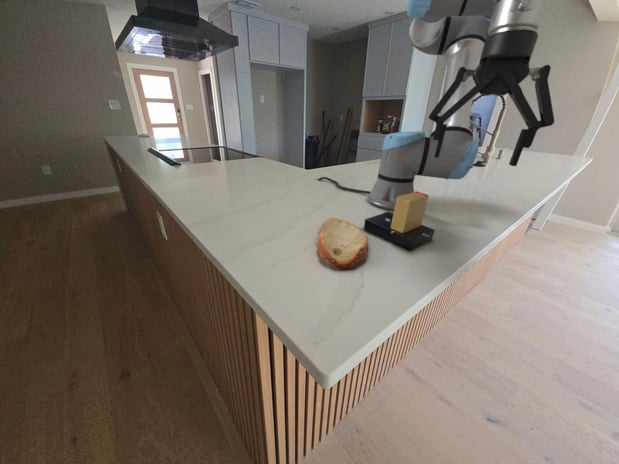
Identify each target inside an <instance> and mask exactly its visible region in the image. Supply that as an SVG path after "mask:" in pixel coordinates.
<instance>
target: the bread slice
mask: <svg viewBox="0 0 619 464" xmlns="http://www.w3.org/2000/svg"><path fill="white" fill-rule="evenodd" d="M368 244H369V239H368V237H367V235H366V233H365V232H362V230H360V228H359V227H358V226H357V225H355V224H353V223H351V222H349V221H346V220H345V219H341V218H336V217H327V218H326V220H324V222H323V224H322V227H321V230H320V232H319V235H318V238H317V243H316V247H317V251H318V254H319V256H320V257H321V259H322V260H323V261H324V262H326V263H327V264H328V265H330V266H332V267H334V269H336V270H350V269H353V268H355V267H356V266H357V265H358V264H359V263H360V262H362V261H364V260H365V259H366V258H367V257H368V256H367V255H368V254H369V245H368Z"/></svg>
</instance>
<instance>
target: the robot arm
mask: <svg viewBox="0 0 619 464" xmlns="http://www.w3.org/2000/svg"><path fill="white" fill-rule="evenodd" d="M550 2H551V0H408V2H407V9H406V10H407V11H406V14H407V17H408V18H411V19H412V21H411V23H410V26H409V30H408V31H409V32H408V35H409V41H410V44H411V45H412V47H414V48H415V49H416V50H417V51H419V52H421V53H423V54H426V55H431V56H443V62H444V64H445V65H446V66H447V67H446V73H445V78H444V84H443V88H442V89H443V90H442V94H441V95H442V96H441V98H440V100H439V101H438V102H437V104H436V106H435V107H434V108H433V110H432V111H431V112H430V114H429V115H428V119H429V120H430V121H433V122H434V123H435V129H434V130H433V131H432V132H431V133H430V136H426V132H424V131H422V130H421V131H418V130H417V131H416V130H415V131H414V130H413V131H399V132H392V133H388V134H386V136H385V137H384V140H383V143H382V147H381V157H380V162H379V167H378V174H377V179H376V181H375V183H374V185H373V187H372V189H371V191H369V190H362V189H356V188H350V187H345V186H343V185H340V184H339V182H338V181H336V180H334V179H332V178H330V177H327V176H321V177H318V179H317V181H322V180H327V181H329V182H331V183H333V184H335V185H336V187H337V188H339V189H342V190H345V191H348V192H355V193H360V194H368V202H369V203H370V204H371V205H373V206H376V207H378V208H381V209H385V210H389V211H394V209H395V204H396V199H397V197H400V196H403V195H407V194H410V193H414V192H415V189H414V181H415V178H416V176H420V177H429V178H437V179H445V180H462V179H463V178H465V177H466V176H467V175H468V173H469V172H470V170H471V168H472V166H473V165H474V163H475V160H476V158H477V155H478V153H479V148H480V143H479V141H478V140H476V139H473V136H474V133H473V131H472V130H471V129H470V128H469V124H470V118H471V112H472V106H473V98H475V96H476V95H478V94H480V95H482V96H483V97H488V96H496V97H503V96H506V95H509V98H510V99H511V100H512V102H513V104H514V106H515V107H516V109H517V111H518V113H519V114H520V116H521V118H522V119H523V122H524V123H525V125H526V126H527V129H526V128H522V129H521V130H520V133H519V135H518V139H517V141H516V144H515V147H514V149H513V152H512V155H511V157H510V160H509V163H508V165H509V166H511V167H517V165H518V162H519V160H520V158H521V154H522V151H523V149H524V148H525V149H530V147H531V146H532V145H533V142H534V139H535V137H536V135H537V132H538V131H539V130H540V129H542V128H546V127H551V126H553V125H554V124H555V116H554V110H553V105H552V98H551V91H550V87H549V77H550V76H549V75H550V72H551V68H552V67H551V65H550V64H545V65H543V66H540V67H532V68H530V62H531V59H532V56H533V53H534V50H535V47H536V44H537V42H538V38H539V34H538V31H539V30H541V29H542V27H543V23H544V20H545V17H546V14H547V11H548V8H549V5H550ZM527 77H529V78H530V81H531V82H532V83H534V89H535V95H536V101H537V106H538V113H539V117H540V120H538V117H537V116H536V114H535V112H534V111H533V109H532V107H531V105H530V103H529V101H528V100H527V98H526V96H525V94H524V93H523V89H522V88H521V86H520V84H521V83H522V82H523V81H524V80H525V79H526V78H527Z"/></svg>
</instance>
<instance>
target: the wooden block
mask: <svg viewBox="0 0 619 464" xmlns="http://www.w3.org/2000/svg"><path fill="white" fill-rule="evenodd" d="M429 197H430V196H429V194H428V193H427V194H426V193H423V192H420V191H417V190H416V191H415V190H414V193H410V194H407V195H403V196H400V197H397V199H396V204H395V209H394V210H393V218H392V223H391V229H394V230H396V231H398V232H401V233H405V232H407V231H410V230H412V229H414V228H417V227H419V226H421V225H422V222H423V219H424V215H425V212H426V208H427V204H428V201H429Z"/></svg>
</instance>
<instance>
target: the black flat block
mask: <svg viewBox="0 0 619 464" xmlns="http://www.w3.org/2000/svg"><path fill="white" fill-rule="evenodd" d="M393 214H394V212H390V211H386V212H383V213H379V214H377V215H374V216H370V217H368V218H364V225H363V230H364V231H367V232H368V233H370V234H372V235H375V236H377V237H379V238H380V239H383V240H385V241H387V242H389V243H391V244H393V245H395V246H397V247H399V248H402V249H403V250H406V251H408V252H412V251H414V250H416V249H418V248H419V247H421V246H424V245H426V244H427V243H429V242H431V241H432V240H433V237H434V234H435V232H436V229H434V228H432V227H429V226H426V225H424V224H421V226H419V227H417V228H414V229H412V230H410V231H407V232H405V233H401V232H398V231H396V230H394V229H391V223H392V218H393Z"/></svg>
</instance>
